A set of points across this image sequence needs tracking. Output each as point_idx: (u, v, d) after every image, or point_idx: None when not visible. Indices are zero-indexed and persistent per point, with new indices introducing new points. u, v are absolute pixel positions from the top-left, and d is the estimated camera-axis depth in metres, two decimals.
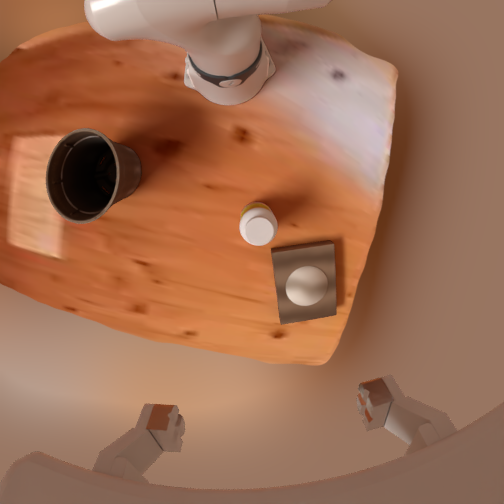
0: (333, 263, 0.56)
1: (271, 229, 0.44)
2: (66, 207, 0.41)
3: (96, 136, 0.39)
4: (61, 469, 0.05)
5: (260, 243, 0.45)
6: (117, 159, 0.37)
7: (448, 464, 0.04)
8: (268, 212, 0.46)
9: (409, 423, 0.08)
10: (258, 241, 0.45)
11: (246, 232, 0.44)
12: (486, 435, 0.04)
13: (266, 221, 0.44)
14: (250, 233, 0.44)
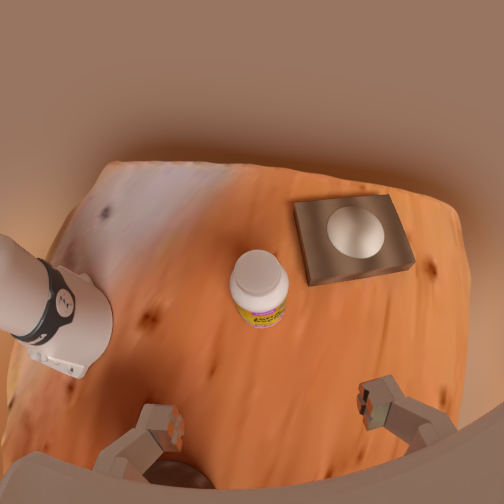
0: (320, 201, 0.43)
1: (255, 252, 0.28)
2: None
3: None
4: (61, 469, 0.05)
5: (277, 268, 0.27)
6: None
7: (448, 464, 0.04)
8: None
9: (409, 423, 0.08)
10: (273, 271, 0.27)
11: (257, 289, 0.26)
12: (486, 435, 0.04)
13: (241, 259, 0.28)
14: (259, 283, 0.27)
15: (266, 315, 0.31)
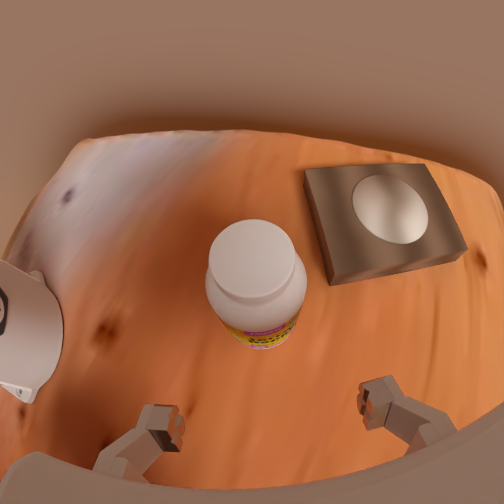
0: (340, 168, 0.30)
1: (247, 223, 0.16)
2: None
3: None
4: (61, 469, 0.05)
5: (288, 252, 0.15)
6: None
7: (448, 464, 0.04)
8: None
9: (409, 423, 0.08)
10: (282, 257, 0.14)
11: (252, 292, 0.14)
12: (486, 435, 0.04)
13: (221, 236, 0.15)
14: (256, 280, 0.14)
15: (269, 335, 0.18)
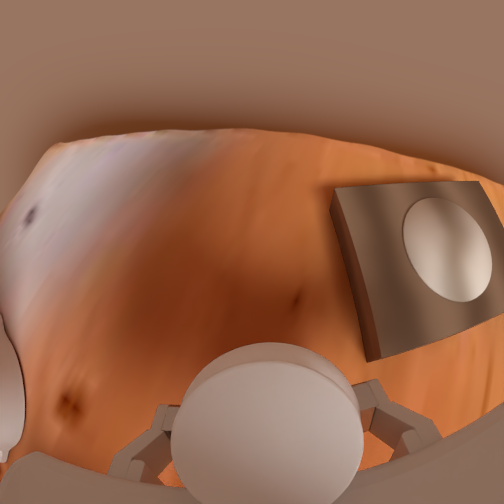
0: (383, 187, 0.20)
1: (256, 373, 0.06)
2: None
3: None
4: (61, 469, 0.05)
5: (350, 441, 0.05)
6: None
7: (448, 464, 0.04)
8: (194, 382, 0.09)
9: (394, 429, 0.08)
10: (336, 455, 0.05)
11: None
12: (486, 435, 0.04)
13: (196, 403, 0.06)
14: (276, 501, 0.04)
15: None
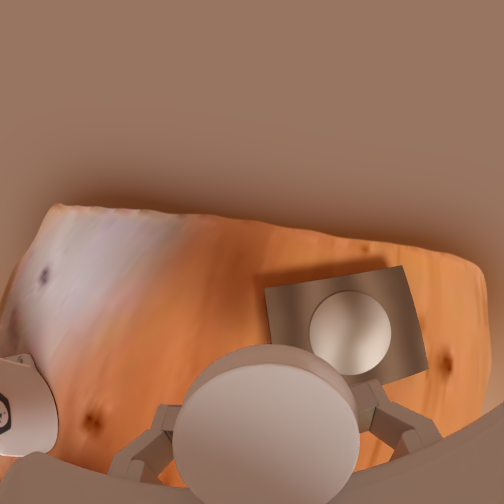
0: (303, 285, 0.30)
1: (255, 375, 0.06)
2: None
3: None
4: (61, 469, 0.05)
5: (347, 441, 0.05)
6: None
7: (448, 464, 0.04)
8: (195, 383, 0.09)
9: (394, 429, 0.08)
10: (333, 455, 0.05)
11: None
12: (486, 435, 0.04)
13: (197, 403, 0.06)
14: (275, 499, 0.04)
15: None
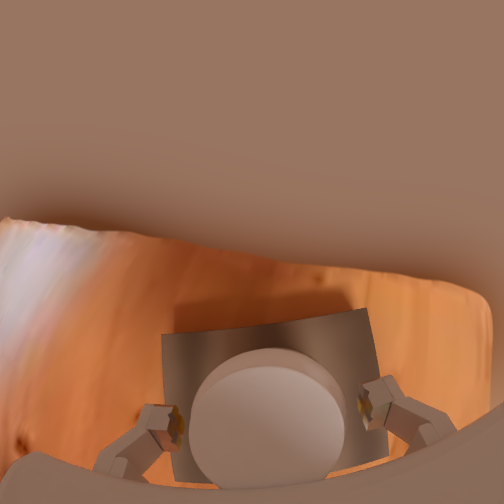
0: (211, 335, 0.21)
1: (257, 375, 0.07)
2: None
3: None
4: (61, 469, 0.05)
5: (333, 431, 0.06)
6: None
7: (448, 464, 0.04)
8: (205, 383, 0.10)
9: (409, 423, 0.08)
10: (322, 441, 0.06)
11: None
12: (486, 435, 0.04)
13: (210, 399, 0.07)
14: (274, 480, 0.06)
15: None
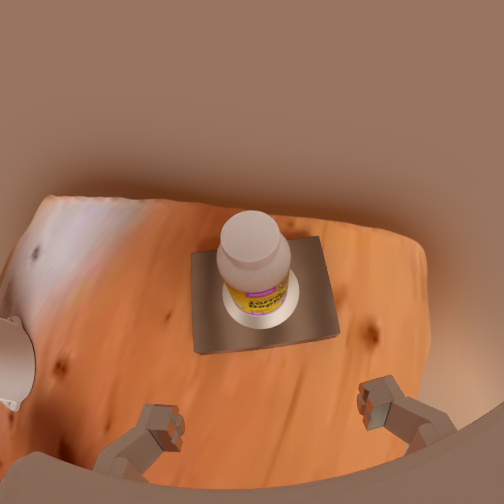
0: None
1: (246, 213, 0.22)
2: None
3: None
4: (61, 469, 0.05)
5: (275, 231, 0.21)
6: None
7: (448, 464, 0.04)
8: None
9: (409, 423, 0.08)
10: (270, 235, 0.21)
11: (250, 258, 0.20)
12: (486, 435, 0.04)
13: (229, 222, 0.22)
14: (253, 250, 0.21)
15: (264, 297, 0.25)
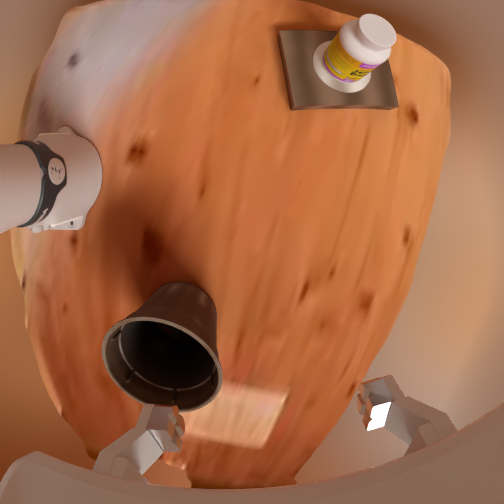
0: (307, 32, 0.30)
1: (373, 15, 0.19)
2: (205, 390, 0.35)
3: (119, 340, 0.34)
4: (61, 469, 0.05)
5: (393, 32, 0.19)
6: (133, 318, 0.29)
7: (448, 464, 0.04)
8: (346, 24, 0.22)
9: (409, 423, 0.08)
10: (391, 34, 0.19)
11: (382, 44, 0.20)
12: (486, 435, 0.04)
13: (363, 18, 0.19)
14: (382, 40, 0.20)
15: (369, 69, 0.25)
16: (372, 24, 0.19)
